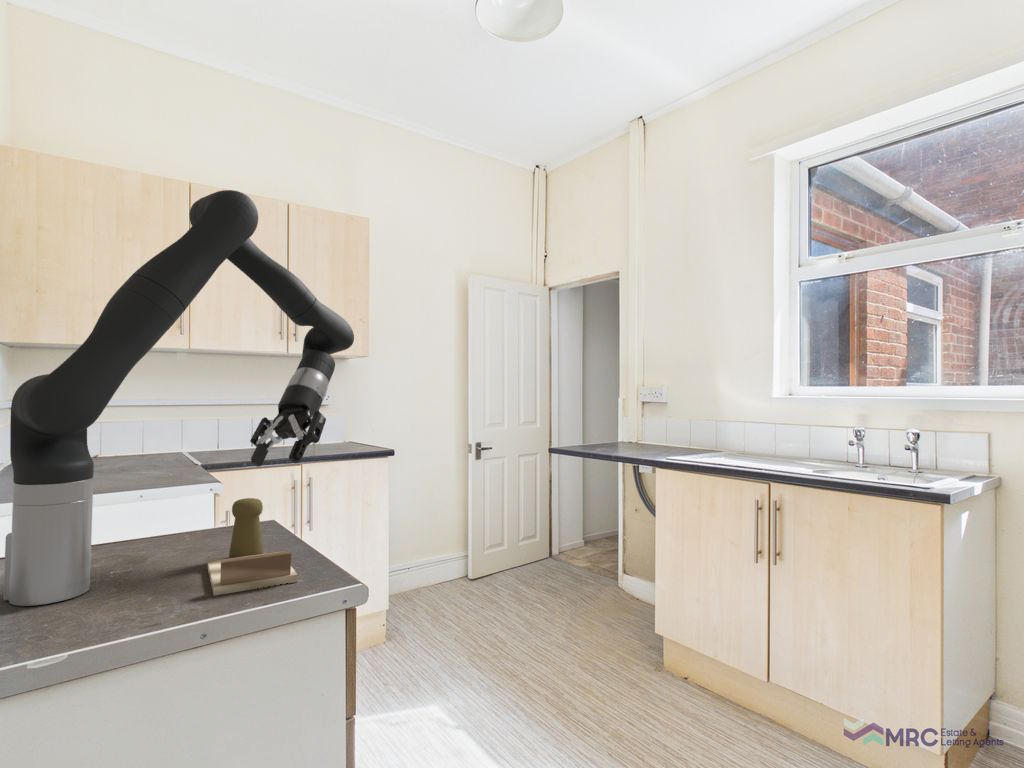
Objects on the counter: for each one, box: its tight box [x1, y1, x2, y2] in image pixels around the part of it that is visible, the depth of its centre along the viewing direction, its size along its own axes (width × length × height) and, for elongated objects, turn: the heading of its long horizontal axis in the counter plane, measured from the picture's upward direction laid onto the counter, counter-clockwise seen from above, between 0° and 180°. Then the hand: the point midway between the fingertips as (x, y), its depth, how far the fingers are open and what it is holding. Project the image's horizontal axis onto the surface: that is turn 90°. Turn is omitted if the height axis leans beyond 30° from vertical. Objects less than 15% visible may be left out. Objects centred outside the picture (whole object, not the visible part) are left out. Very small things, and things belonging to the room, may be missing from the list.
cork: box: [227, 497, 265, 559], centre depth 101 cm, size 6×6×11 cm
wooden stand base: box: [207, 550, 298, 597], centre depth 91 cm, size 15×12×5 cm
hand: (274, 462), depth 100 cm, fingers open, 8 cm apart
